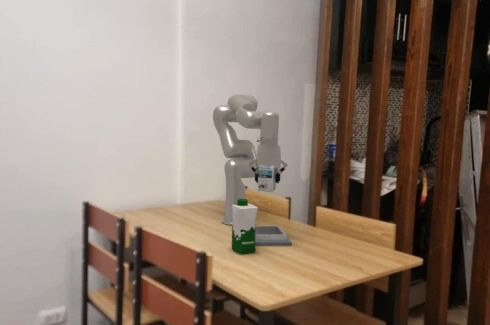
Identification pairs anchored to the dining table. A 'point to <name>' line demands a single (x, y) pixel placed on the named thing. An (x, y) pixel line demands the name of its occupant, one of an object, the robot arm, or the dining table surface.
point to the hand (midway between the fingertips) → (267, 182)
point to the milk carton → (244, 227)
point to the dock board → (272, 243)
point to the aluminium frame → (273, 237)
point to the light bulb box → (267, 178)
